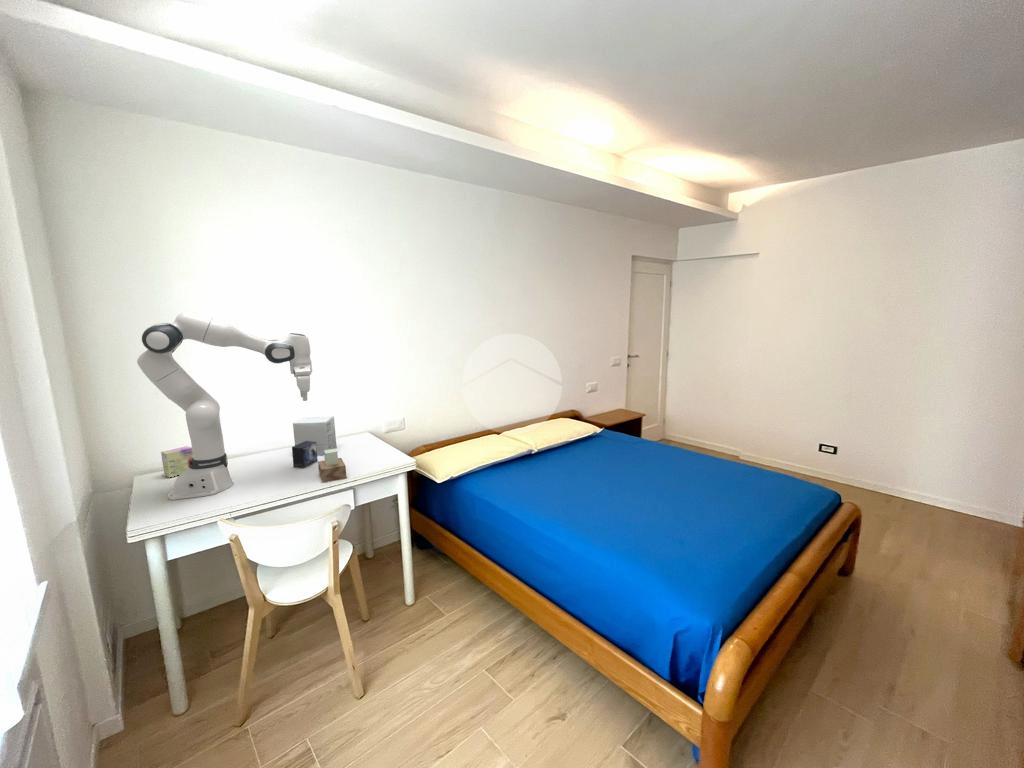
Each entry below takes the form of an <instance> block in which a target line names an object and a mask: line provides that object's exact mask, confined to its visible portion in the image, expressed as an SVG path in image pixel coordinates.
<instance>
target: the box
mask: <svg viewBox="0 0 1024 768" xmlns="http://www.w3.org/2000/svg"><path fill="white" fill-rule="evenodd" d="M160 454H161V455H160V456H161V461H162V468H163V475H164V477H166V476H167V477H166V478H168V477H169V479H171V478H170V477H172V478H175V477H178V476H177V475H179V476H180V475H181V474H182V473H183V472H184V471H186V470H187V469H188V468H189V467H188V459H189V458H190V457H193V452H192V446H189V445H185V446H182V447H176V448H172V449H169V450H168V449H167V450H164V451H163V450H162V451H161V452H160ZM174 476H175V477H174Z"/></svg>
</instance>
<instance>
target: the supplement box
mask: <svg viewBox="0 0 1024 768" xmlns="http://www.w3.org/2000/svg"><path fill="white" fill-rule="evenodd" d="M335 426H336V425H335V416H333V415H331V416H308V417H307V416H306V417H301V418H298V420H296V421H295V422H292V427H293V438H294V439H293V440H294V446H295V445H298V444H300V443H302V442H304V441H312V442H316V446H317V456H324V450H329V449H336V450H337V448H338V447H337V436H336V427H335Z"/></svg>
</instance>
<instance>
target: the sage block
mask: <svg viewBox="0 0 1024 768" xmlns="http://www.w3.org/2000/svg"><path fill="white" fill-rule="evenodd" d="M323 456H324V461H325V464H326V466H331V465H336V464H338V458H339V456H338V450H337V448H336V449H329V450H324V455H323Z"/></svg>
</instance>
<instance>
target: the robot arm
mask: <svg viewBox="0 0 1024 768" xmlns="http://www.w3.org/2000/svg"><path fill="white" fill-rule="evenodd" d="M185 340H192V341H196V342H200V343H202V344H204V345H205V344H206V345H210V346H215V347H219V348H220V347H221V348H229V347H238V348H243V349H247V350H250V351H253V352H256V353H259V354H262V355H263V356H265V357H266V359H267V360H268V361H269V362H270V363H273V364H284V363H287V362H289V368H290V369H289V371H290V374H291V375H293V377H294V378H295V379H296V387H297V388H298V390H299V393H300V397H301V398H302V401H303V402H307V401H308V392H310V389H311V375H312V373H313V365H312V360H311V345H310V340H309V337H307V336H306V335H305V334H302V333H295V332H291V333H288V334H287V335H285V336H284V337H282V338H280V339H264V338H261V337H258V336H254V335H251V334H249V333H245V332H243V331H241V330H239V329H238V328H237V327H234V326H233V325H231V324H229V323H227V322H226V321H223V320H221V319H218V318H215V317H212V316H209V315H206V314H201V313H196V312H193V311H182V312H180V313H179V314H177V316H176V317H175V319H174V321H173V322H172V323H169V322H161V323H156V324H153V325H151V326H150V327H148V328H146V329H145V330H144V331H143V333H142V335H141V342H142V344H143V346H144V347H145V349H147V350H145V351H144V352H142V353H141V354H140V355H139V356H138V358H137V361H136V363H137V366H138V367H139V369H140V370H141V371H142V373H143V374H144V375H145V377H146V378H147V379H148V380H149V381H150V382H151V383H152V384H153V385H154V386H155V387H156V388H157V389H158V390H159V391H160V392H161V393H162V394H163V395H164V396H165V397H166V398H167V399H168V400H169V401H171V402H172V403H174V404H175V405H177V407H179V408H180V409H182V410H183V411H184V412H185V420H186V421H185V422H186V425H187V431H188V435H189V439H190V444H191V447H192V452H193V457H190V458H189V459H188V467H189V468H188V469H187V470H186V471H184V472H183V473H182V474H181V475H179V476H176V477H177V478H176V479H175V481H174V484H173V488H172V489H170V491H168V494H167V498H168V500H171V501H176V500H184V499H193V498H200V497H207V496H213V495H216V494H217V493H219V492H222V491H224V490H226V489H229V488H231V487H232V486H233V485H234V481H233V480H232V478H231V475H230V471H229V467H228V465H229V463H228V456H227V453H226V451H225V443H224V436H223V431H222V430H223V429H222V424H221V417H220V409H221V406H220V403H219V402H218V401H217V400H216V399H215V398H214V397H213V396H212V395H211V394H210V393H208V391H206V390H205V388H203V387H202V386H201V385H199V384H198V383H197V381H195V380H194V378H193V377H191V375H190V374H188V373H187V371H185V369H184V368H183V367H182V366H181V365H180V364H179V363H178V361H176V360H175V358H174V357H173V353H174V352H175V351H176V349H178V348H179V347H180V346H181V345H182V343H183V341H185Z"/></svg>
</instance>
